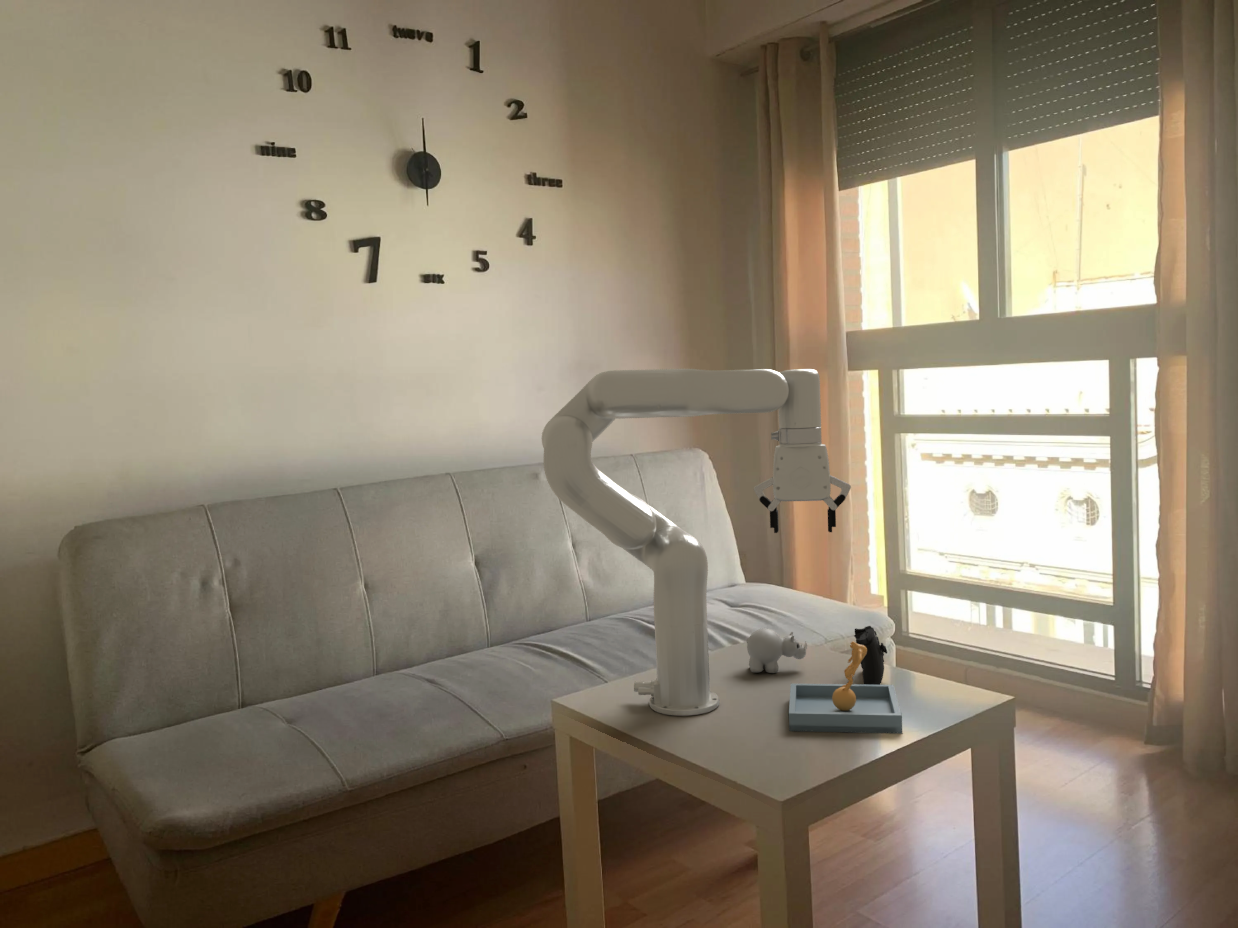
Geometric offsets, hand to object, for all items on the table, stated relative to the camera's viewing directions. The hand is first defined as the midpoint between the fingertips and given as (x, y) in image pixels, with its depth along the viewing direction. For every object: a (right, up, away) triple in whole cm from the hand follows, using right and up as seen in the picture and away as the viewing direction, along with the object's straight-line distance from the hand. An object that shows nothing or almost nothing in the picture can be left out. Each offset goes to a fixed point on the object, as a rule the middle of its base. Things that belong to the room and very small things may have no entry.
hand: (803, 531), depth 177 cm
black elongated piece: (+15, -29, +8) cm, 34 cm away
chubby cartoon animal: (-2, -29, +18) cm, 34 cm away
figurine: (+6, -30, -11) cm, 32 cm away
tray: (+5, -31, -10) cm, 33 cm away
